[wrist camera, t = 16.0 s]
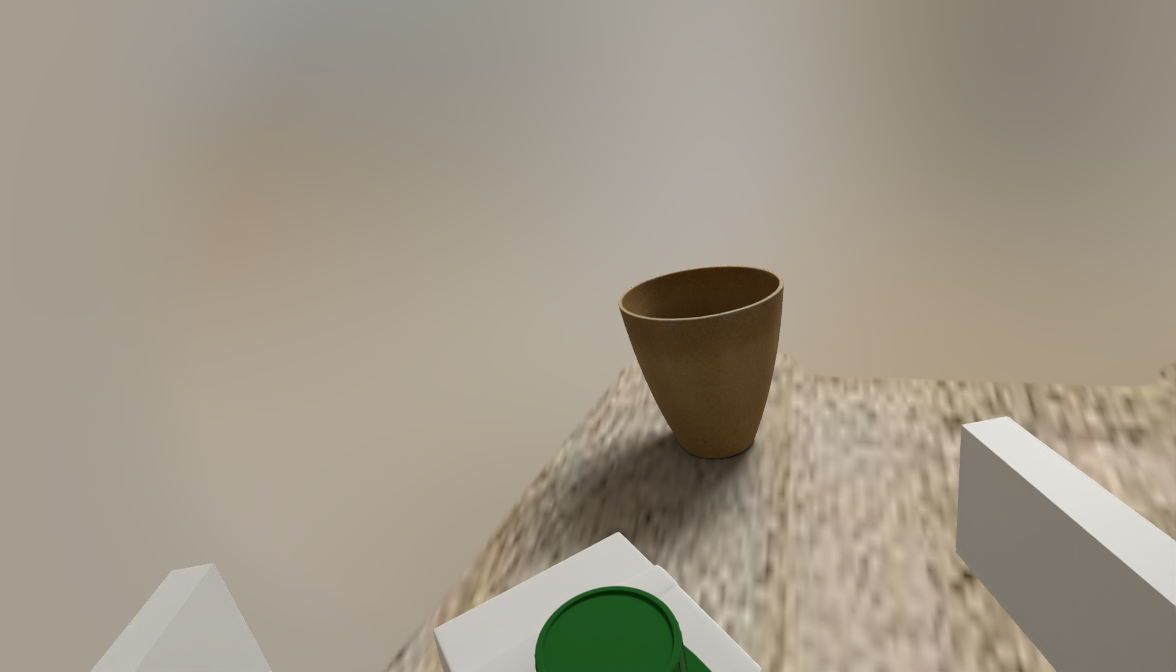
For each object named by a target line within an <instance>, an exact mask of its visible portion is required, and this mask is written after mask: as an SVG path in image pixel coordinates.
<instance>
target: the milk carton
mask: <svg viewBox="0 0 1176 672" xmlns="http://www.w3.org/2000/svg"><path fill="white" fill-rule="evenodd" d="M433 632H434V637H435V641H436V645H437V649H438V652H439V656H440V660H441V664H442V667H443V671H444V672H762V669H761V667H760V666H759V665H758V664H757V663H756V662H755V661H754V660H753V659H752V658H751V657H750V656H749V655H748V654H747V653H746V652H745V651H744V650H743V649H742V648H741V647H740V646H739V645H738V644H737V643H736V642H735V641H734V640H733V639H732V638H731V637H730V636H729V635H728V634H727V633H726V632H725V631H724V630H723V629H722V628H721V627H720V626H718V625H717V624H716V623H715V622H714V621H713V620H712V619H711V618H710V617H709V616H708V615H707V614H706V613H705V612H704V611H703V610H702V609H701V608H700V607H699V606H698V605H697V604H696V603H695V602H694V601H693V600H692V599H691V598H690V597H689V596H688V595H687V594H686V593H685V592H684V591H683V590H682V589H681V588H680V587H679V586H678V584H677V582H676V581H675V580H674V579H673V578H672V577H671V576H670V575H669V574H668V573H667V572H666V571H665V570H664V569H663V568H662V567H660V566H659V565H655V566H654V565H653V564H652V563H651V562H650V561H649V560H648V559H647V558H646V557H645V556H644V555H642V554H641V553H640V552H639V551H638V550H637V549H636V548H635V547H634V546H633V545H632V544H631V543H630V542H629V541H628V540H627V539H626V538H625V537H624V536H623V535H622V534H621V533H620V532H617V533H615V534H613V535H611V536H609V537H607V538H605V539H603V540H601V541H600V542H598V543H596V544H594V545H592V546H590V547H588V548H586V549H584V550H583V551H581V552H579V553H577V554H575V555H573V556H571V557H569V558H567V559H566V560H564V561H562V562H560V563H558V564H556V565H554V566H552V567H550V568H549V569H547V570H545V571H543V572H541V573H539V574H537V575H535V576H533V577H532V578H530V579H528V580H526V581H524V582H522V583H520V584H518V585H516V586H515V587H513V588H511V589H509V590H507V591H505V592H503V593H501V594H499V595H498V596H496V597H494V598H492V599H490V600H488V601H486V602H484V603H482V604H481V605H479V606H477V607H475V608H473V609H471V610H469V611H467V612H465V613H464V614H462V615H460V616H458V617H456V618H454V619H452V620H450V621H448V622H447V623H445V624H443V625H441V626H439V627H437V628H436V629H434V630H433Z"/></svg>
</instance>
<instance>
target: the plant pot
mask: <svg viewBox="0 0 1176 672" xmlns="http://www.w3.org/2000/svg"><path fill="white" fill-rule="evenodd" d="M783 283H784V282H783V279H782V277H781V276H780V275H778V274H776V273H775V272H773V271H770V270H767V269H763V268H758V267H751V266H739V265H734V266H733V265H727V266H710V267H700V268H692V269H686V270H680V271H677V272H672V273H668V274H663V275H660V276H657V277H654V278H651V279H648V280H646V281H643V282H641V283H639V284H637V285H635V286H633V287H631V288H630V289H628V290H627V291H626V292H624V293H623V295H621V297H620V299H619V302H618V305H619V308H620V311H621V314H622V317H623V321H624V324H625V327H626V329H627V333H628V335H629V338H630V341H631V344H632V347H633V350H634V352H635V355H636V357H637V360H638V363H639V365H640V367H641V370H642V372H643V375H644V377H645V379H646V382H647V384H648V386H649V388H650V390H651V392H652V394H653V397H654V399H655V401H656V403H657V405H658V407H659V408H660V410H661V412H662V414H663V416H664V418H665V419H666V421H667V423H668V425H669V426H670V428H671V430H672V431H673V433H674V435H675V436H676V438H677V440H678V441H679V443H680V444H681V446H682V448H684V449H685V450H686V451H687V452H689V453H690V454H693V455H695V456H699V457H704V458H723V457H729V456H733V455H736V454H738V453H741V452H743V451H744V450H746V449H747V448H748V447H749V446H750V445H751V444H752V443H753V441H754V438H755V436H756V433H757V430H758V427H759V424H760V421H761V418H762V415H763V411H764V408H765V404H766V401H767V397H768V393H769V389H770V385H771V380H772V376H773V371H774V365H775V360H776V354H777V348H778V341H779V333H780V325H781V315H782V302H783V285H784V284H783Z"/></svg>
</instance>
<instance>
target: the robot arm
mask: <svg viewBox="0 0 1176 672" xmlns="http://www.w3.org/2000/svg"><path fill="white" fill-rule="evenodd" d="M956 553H957V554H958V555H959V556H960V557H961V559H962V560H963V561H964V562H965V563H966V565H967V566H968V567H969V568H970V569H971V570H972V572H973V573H974V574H975V575H976V576H977V578H978V579H979V580H980V581H981V582H982V583H983V585H984V586H985V587H986V588H987V589H988V590H989V592H990V593H991V594H992V595H993V596H994V598H995V599H996V600H997V601H998V602H999V603H1000V605H1001V606H1002V607H1003V608H1004V609H1005V611H1006V612H1007V613H1008V614H1009V615H1010V616H1011V618H1012V619H1013V620H1014V621H1015V622H1016V624H1017V625H1018V626H1019V627H1020V628H1021V629H1022V631H1023V632H1024V633H1025V634H1026V635H1027V637H1028V638H1029V639H1030V640H1031V641H1032V642H1033V644H1034V645H1035V646H1036V647H1037V648H1038V650H1039V651H1040V652H1041V653H1042V654H1043V655H1044V657H1045V658H1046V659H1047V660H1048V661H1049V663H1050V664H1051V665H1052V666H1053V667H1054V668H1055V670H1056V671H1057V672H1176V541H1175V540H1173V539H1172V538H1171V537H1169V536H1168V535H1167V534H1165V533H1164V532H1163V531H1161V530H1160V529H1158V528H1157V527H1156V526H1154V525H1153V524H1152V523H1150V522H1149V521H1148V520H1146V519H1145V518H1144V517H1142V516H1141V515H1140V514H1138V513H1137V512H1136V511H1134V510H1133V509H1131V508H1130V507H1129V506H1127V505H1126V504H1125V503H1123V502H1122V501H1121V500H1119V499H1118V498H1117V497H1115V496H1114V495H1113V494H1111V493H1110V492H1109V491H1107V490H1106V489H1104V488H1103V487H1102V486H1100V485H1099V484H1098V483H1096V482H1095V481H1094V480H1092V479H1091V478H1090V477H1088V476H1087V475H1086V474H1084V473H1083V472H1081V471H1080V470H1079V469H1077V468H1076V467H1075V466H1073V465H1072V464H1071V463H1069V462H1068V461H1067V460H1065V459H1064V458H1063V457H1061V456H1060V455H1059V454H1057V453H1056V452H1054V451H1053V450H1052V449H1050V448H1049V447H1048V446H1046V445H1045V444H1044V443H1042V442H1041V441H1040V440H1038V439H1037V438H1036V437H1034V436H1033V435H1032V434H1030V433H1029V432H1027V431H1026V430H1025V429H1023V428H1022V427H1021V426H1019V425H1018V424H1017V423H1015V422H1014V421H1013V420H1011V419H1010V418H1009V417H1002V418H996V419H991V420H986V421H980V422H975V423H969V424H964V425H961V448H960V471H959V494H958V517H957V540H956ZM91 672H272V670H271V668H270V667H269V665H268V663H267V661H266V659H265V657H264V655H263V654H262V652H261V650H260V648H259V646H258V644H257V643H256V641H255V639H254V637H253V635H252V633H251V631H250V630H249V628H248V626H247V624H246V622H245V620H244V619H243V617H242V615H241V613H240V611H239V609H238V607H237V606H236V604H235V602H234V600H233V598H232V596H231V595H230V593H229V591H228V589H227V587H226V585H225V583H224V582H223V580H222V578H221V576H220V574H219V572H218V570H217V569H216V567H215V565H214V563H211V564H205V565H200V566H195V567H190V568H184V569H178V570H173V571H171V572H170V574H169V575H168V576H167V577H166V579H165V580H164V581H163V582H162V583H161V585H160V586H159V587H158V588H157V590H156V591H155V592H154V594H153V595H152V596H151V597H150V599H149V600H148V601H147V602H146V603H145V605H144V606H143V607H142V608H141V610H140V611H139V612H138V613H137V615H136V616H135V617H134V618H133V620H132V621H131V622H130V623H129V624H128V626H127V627H126V628H125V629H124V631H123V632H122V633H121V634H120V636H119V637H118V638H117V639H116V641H115V642H114V643H113V644H112V646H111V647H110V648H109V649H108V650H107V652H106V653H105V654H104V655H103V657H102V658H101V659H100V660H99V662H98V663H97V664H96V665H95V667H94V668H93V669H92V670H91Z"/></svg>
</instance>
